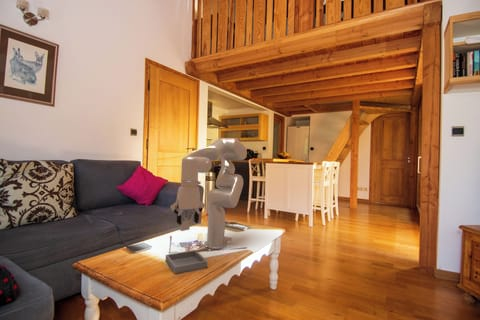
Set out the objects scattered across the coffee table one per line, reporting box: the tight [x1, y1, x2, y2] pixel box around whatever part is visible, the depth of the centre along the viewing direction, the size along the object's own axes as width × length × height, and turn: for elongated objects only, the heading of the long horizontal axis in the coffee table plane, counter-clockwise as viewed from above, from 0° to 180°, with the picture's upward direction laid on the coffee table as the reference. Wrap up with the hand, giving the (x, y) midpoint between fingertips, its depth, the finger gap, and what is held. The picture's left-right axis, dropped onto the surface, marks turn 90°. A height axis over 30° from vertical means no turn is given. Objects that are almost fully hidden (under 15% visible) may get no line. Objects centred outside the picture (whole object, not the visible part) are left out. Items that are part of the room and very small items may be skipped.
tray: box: [165, 249, 208, 275], centre depth 114 cm, size 15×15×3 cm
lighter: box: [179, 210, 196, 232], centre depth 114 cm, size 7×2×8 cm, turn 136°
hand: (187, 222), depth 114 cm, fingers closed on lighter, 7 cm apart
